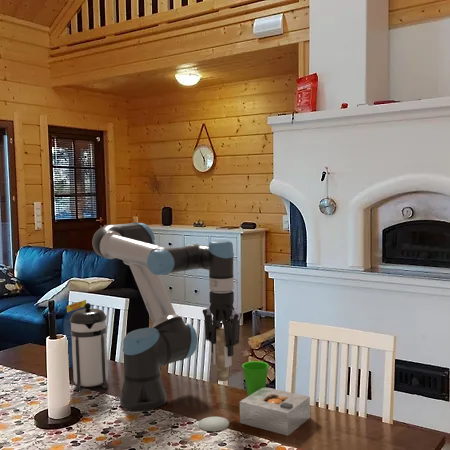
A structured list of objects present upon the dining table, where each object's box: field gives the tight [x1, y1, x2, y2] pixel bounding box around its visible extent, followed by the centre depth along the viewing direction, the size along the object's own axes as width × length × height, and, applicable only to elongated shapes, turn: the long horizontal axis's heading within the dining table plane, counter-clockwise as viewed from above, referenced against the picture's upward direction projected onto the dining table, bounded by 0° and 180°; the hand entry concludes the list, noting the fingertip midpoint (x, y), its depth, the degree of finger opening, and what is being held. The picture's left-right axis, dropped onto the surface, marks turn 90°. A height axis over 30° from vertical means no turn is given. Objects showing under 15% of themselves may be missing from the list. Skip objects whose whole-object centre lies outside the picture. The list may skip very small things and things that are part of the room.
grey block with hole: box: [239, 386, 311, 437], centre depth 165 cm, size 16×14×7 cm
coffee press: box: [70, 302, 109, 393], centre depth 198 cm, size 17×16×30 cm
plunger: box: [268, 399, 282, 405], centre depth 165 cm, size 4×4×2 cm
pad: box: [198, 416, 230, 432], centre depth 163 cm, size 9×9×1 cm
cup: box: [241, 360, 270, 397], centre depth 183 cm, size 9×9×11 cm
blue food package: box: [61, 299, 87, 369], centre depth 223 cm, size 6×12×25 cm, turn 156°
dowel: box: [216, 326, 229, 382], centre depth 172 cm, size 4×4×16 cm
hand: (222, 364), depth 173 cm, fingers closed on dowel, 3 cm apart
